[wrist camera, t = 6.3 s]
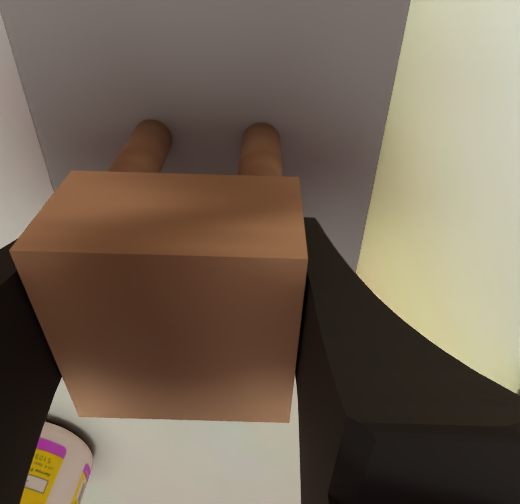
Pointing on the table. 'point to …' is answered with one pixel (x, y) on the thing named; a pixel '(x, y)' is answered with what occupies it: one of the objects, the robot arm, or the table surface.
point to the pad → (217, 88)
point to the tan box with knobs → (172, 283)
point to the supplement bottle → (58, 468)
